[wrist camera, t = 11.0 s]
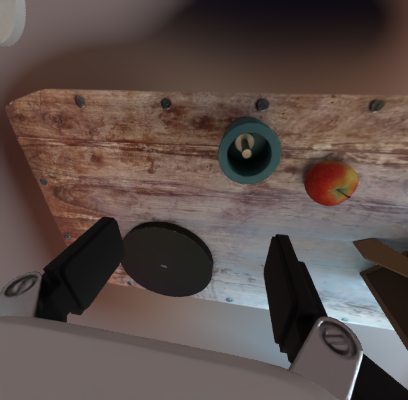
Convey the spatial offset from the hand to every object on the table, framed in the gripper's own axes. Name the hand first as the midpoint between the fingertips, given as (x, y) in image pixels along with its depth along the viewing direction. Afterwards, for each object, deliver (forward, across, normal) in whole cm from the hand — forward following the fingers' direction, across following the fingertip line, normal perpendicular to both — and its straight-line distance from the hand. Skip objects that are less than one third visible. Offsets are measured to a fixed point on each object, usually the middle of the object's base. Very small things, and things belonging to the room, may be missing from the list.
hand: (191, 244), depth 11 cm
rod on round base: (+30, -4, 0) cm, 31 cm away
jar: (+31, -5, 0) cm, 31 cm away
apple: (+31, -21, +6) cm, 37 cm away
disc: (+31, +16, +37) cm, 51 cm away
